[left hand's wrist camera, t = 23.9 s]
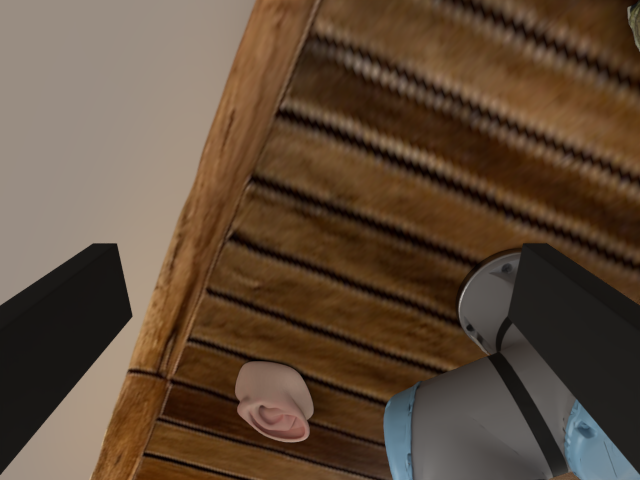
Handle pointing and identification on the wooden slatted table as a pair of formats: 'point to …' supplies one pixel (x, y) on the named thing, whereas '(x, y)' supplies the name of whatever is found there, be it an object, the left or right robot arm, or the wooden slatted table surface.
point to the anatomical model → (274, 400)
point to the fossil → (635, 21)
